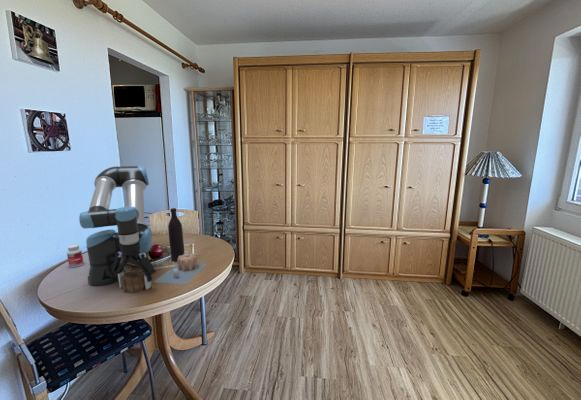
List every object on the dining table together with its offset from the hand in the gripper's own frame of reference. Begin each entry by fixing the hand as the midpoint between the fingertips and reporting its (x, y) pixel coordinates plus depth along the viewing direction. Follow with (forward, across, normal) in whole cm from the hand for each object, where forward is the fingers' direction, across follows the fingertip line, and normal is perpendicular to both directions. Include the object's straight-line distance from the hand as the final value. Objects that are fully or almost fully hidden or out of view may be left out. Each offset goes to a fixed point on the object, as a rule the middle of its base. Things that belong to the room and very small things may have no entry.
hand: (135, 287), depth 121 cm
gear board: (0, +14, +15) cm, 21 cm away
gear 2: (-1, +14, +21) cm, 25 cm away
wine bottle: (0, +3, +30) cm, 30 cm away
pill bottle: (0, -49, +17) cm, 52 cm away
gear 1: (0, 0, 0) cm, 0 cm away
